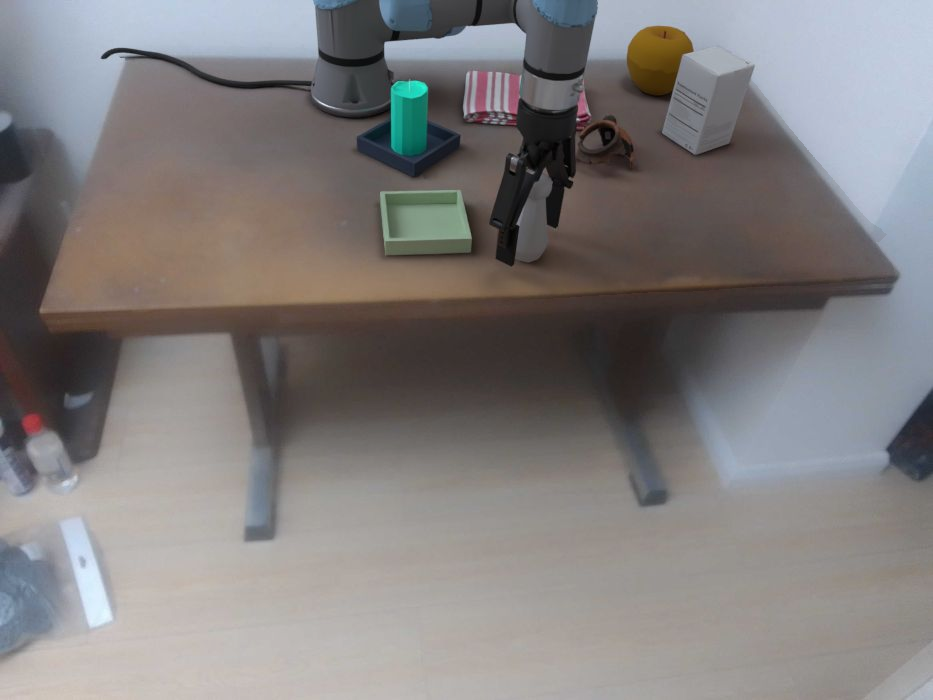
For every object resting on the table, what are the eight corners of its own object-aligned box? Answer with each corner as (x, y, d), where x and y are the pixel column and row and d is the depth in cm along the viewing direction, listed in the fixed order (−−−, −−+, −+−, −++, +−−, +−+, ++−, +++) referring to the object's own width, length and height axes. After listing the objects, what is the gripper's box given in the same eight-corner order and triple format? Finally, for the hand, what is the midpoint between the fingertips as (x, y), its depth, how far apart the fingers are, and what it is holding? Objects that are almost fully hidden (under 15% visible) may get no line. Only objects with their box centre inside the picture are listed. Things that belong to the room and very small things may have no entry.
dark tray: (357, 150, 129) (356, 136, 127) (404, 123, 136) (404, 110, 134) (414, 177, 124) (414, 163, 122) (459, 148, 131) (460, 134, 130)
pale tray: (385, 255, 109) (385, 241, 107) (380, 205, 118) (380, 191, 116) (470, 252, 111) (472, 238, 109) (459, 203, 120) (460, 189, 118)
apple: (610, 90, 151) (622, 32, 143) (635, 67, 159) (648, 11, 151) (671, 110, 146) (687, 51, 138) (694, 85, 154) (710, 29, 146)
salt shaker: (504, 241, 114) (513, 164, 104) (541, 241, 114) (554, 165, 105) (508, 266, 109) (519, 188, 100) (548, 266, 110) (562, 189, 101)
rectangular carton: (695, 122, 144) (718, 43, 133) (730, 144, 138) (757, 64, 128) (659, 133, 140) (681, 52, 129) (694, 156, 135) (719, 74, 124)
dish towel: (590, 132, 138) (593, 114, 136) (462, 123, 137) (463, 105, 135) (581, 88, 150) (584, 71, 148) (463, 80, 150) (464, 62, 147)
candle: (431, 142, 131) (434, 75, 123) (418, 158, 127) (420, 90, 119) (399, 134, 132) (399, 67, 124) (385, 150, 128) (384, 82, 120)
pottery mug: (639, 181, 128) (626, 148, 122) (584, 194, 132) (569, 162, 126) (637, 130, 134) (625, 95, 128) (585, 144, 138) (571, 111, 132)
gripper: (522, 147, 86) (503, 293, 102) (620, 78, 100) (590, 216, 116) (469, 124, 89) (458, 270, 105) (571, 60, 103) (548, 197, 119)
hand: (527, 242), depth 110 cm, fingers open, 11 cm apart
